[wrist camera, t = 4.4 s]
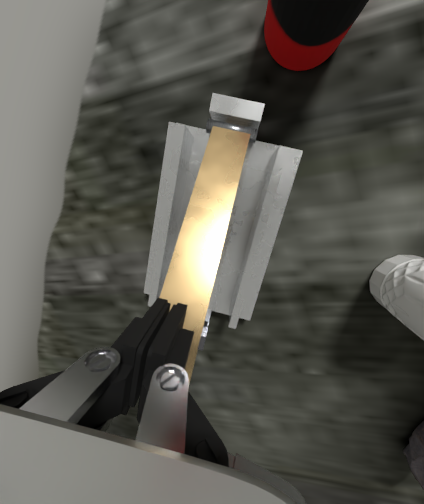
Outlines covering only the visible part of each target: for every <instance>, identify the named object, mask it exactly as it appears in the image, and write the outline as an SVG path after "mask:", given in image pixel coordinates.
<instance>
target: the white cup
mask: <svg viewBox="0 0 424 504" xmlns="http://www.w3.org/2000/svg"><path fill="white" fill-rule="evenodd" d="M369 284H370V293H371V294H372V295H373V297H374V298H375V299H376V301H377V302H378V303H380V304H381V305H382V306H383V307H385V308H386V309H387V310H388V311H389V312H390V313H391V314H392V315H393V316H394V317H395V318H397V319H398V320H399V321H401V322H402V323H403V324H404V325H405V326H406V327H407V328H408V329H410V330H411V331H412V332H413V333H415V334H416V335H417V336H418V337H420V338H421V339H422V340H423V341H424V258H423V257H419V256H415V255H397V256H394V257H392V258H389V259H386V260H384V261H383V262H382V263H381V264H380V265H379V266H378V267H376V268H375V269H374V271H373V273H372V276H371V278H370V280H369Z"/></svg>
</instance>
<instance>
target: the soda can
mask: <svg viewBox="0 0 424 504" xmlns="http://www.w3.org/2000/svg"><path fill="white" fill-rule="evenodd" d="M368 1H369V0H268V5H267V11H266V17H265V25H264V34H265V42H266V45H267V48H268V50H269V52H270V54H271V56H272V57H273V58H274V60H275V61H276V62H277V63H278V64H280V65H281V66H283V67H285V68H287V69H289V70H295V71H302V70H308V69H311V68H314V67H316V66H318V65H320V64H321V63H323V62H324V61H325V60H326V59H328V58H329V57H330V56H331V55H332V53H333V52H334V51H335V50H336V48H337V47H338V45H339V44H340V42H341V41H342V39H343V38H344V36H345V35H346V33H347V32H348V30H349V29H350V27H351V26H352V24H353V23H354V21H355V20H356V18H357V17H358V16H359V14H360V13H361V11H362V10H363V8H364V7H365V5H366V4H367V2H368Z"/></svg>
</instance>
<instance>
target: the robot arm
mask: <svg viewBox="0 0 424 504" xmlns="http://www.w3.org/2000/svg"><path fill="white" fill-rule="evenodd" d="M170 305H171V304H170V303H168V300H166V299H162V298H157V300H156V301H155V302H154V303H153V305H152V306H151V307H150V309H149V310H148V311H147V313H146V314H145V315H144V317H143V318H139V317H135V318H134V319H133V321H132V322H131V323H130V324H129V326H128V327H127V328H126V329H125V330H124V332H123V333H122V334H121V335H120V336H119V338H118V339H117V340H116V341H115V343H114V344H113V345H112V346H111V347H100V348H95V349H93V350H91V351H89V352H87V353H86V354H85V355H83V356H82V357H81V358H80V359H79V360H77V361H76V362H75V363H74V364H73V365H71V366H70V367H69V368H68V369H66V370H64V371H61V372H58V373H55V374H52V375H48V376H45V377H42V378H39V379H36V380H33V381H29V382H26V383H23V384H20V385H17V386H13V387H11V388H8V389H6V390H4V391H2V392H0V504H306V502H305V500H304V498H303V496H302V495H301V494H300V492H299V491H298V490H297V489H296V488H295V487H294V486H292V485H291V484H290V483H288V482H287V481H285V480H283V479H281V478H280V477H278V476H276V475H274V474H273V473H271V472H269V471H267V470H266V469H264V468H262V467H260V466H259V465H257V464H255V463H253V462H252V461H250V460H248V459H246V458H244V457H243V456H241V455H239V454H237V453H236V456H234V455H232V454H230V453H228V452H227V450H226V448H225V446H224V444H223V442H222V441H221V439H220V438H219V436H218V435H217V433H216V432H215V430H214V429H213V427H212V426H211V424H210V423H209V421H208V420H207V418H206V417H205V415H204V414H203V412H202V411H201V409H200V408H199V406H198V405H197V403H196V402H195V400H194V399H193V397H192V396H191V395H190V393H189V392H188V385H189V378H188V374H187V372H186V371H185V367H186V363H187V360H188V356H189V352H190V348H191V344H192V339H193V335H194V331H191V330H187V329H183V324H184V320H185V315H186V310H187V305H186V304H182V303H177V305H175V304H173V306H172V308H171V310H170ZM169 311H170V312H169ZM139 396H140V399H139V405H138V414H137V420H138V422H139V428H138V432H137V436H136V439H135V440H132V439H128V438H125V437H121V436H117V435H114V434H110V433H106V431H107V429H108V428H109V426H110V424H111V422H112V419H113V418H114V417H116V416H118V415H120V414H123V415H126V414H127V412H128V410H129V408H130V406H131V407H134V406H135V405H136V403H137V400H138V398H139Z"/></svg>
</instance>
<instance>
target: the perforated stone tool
mask: <svg viewBox="0 0 424 504" xmlns="http://www.w3.org/2000/svg"><path fill="white" fill-rule="evenodd" d="M403 453H404V454H405V455H406V457H407V462H408V464H409V468H410V470H411V472H412V473H413V475H414V477H415V479H416V480H417V481H418V482H419V484H420V485H421V487H422V488H423V489H424V420H423V422H422V423H421V424H420V425H419V426H418V427H417V428H416V429H415V430H414V431H413V433H412V436H411V437H410V438H409V444H408V445H407V446H406V447H405V448H404V449H403Z"/></svg>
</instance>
